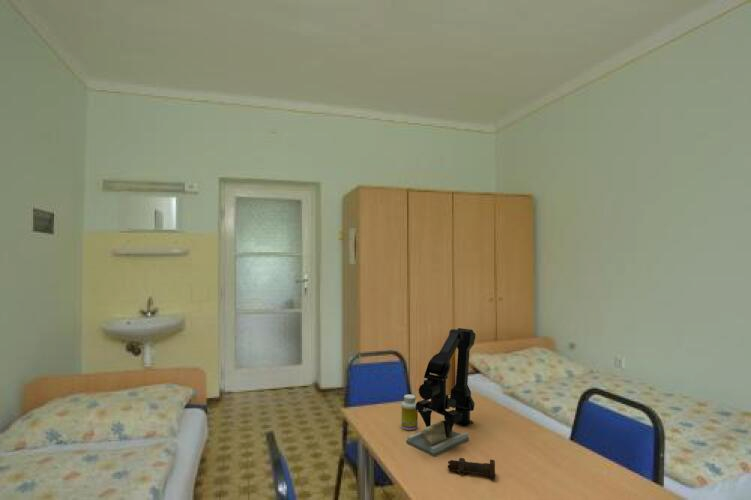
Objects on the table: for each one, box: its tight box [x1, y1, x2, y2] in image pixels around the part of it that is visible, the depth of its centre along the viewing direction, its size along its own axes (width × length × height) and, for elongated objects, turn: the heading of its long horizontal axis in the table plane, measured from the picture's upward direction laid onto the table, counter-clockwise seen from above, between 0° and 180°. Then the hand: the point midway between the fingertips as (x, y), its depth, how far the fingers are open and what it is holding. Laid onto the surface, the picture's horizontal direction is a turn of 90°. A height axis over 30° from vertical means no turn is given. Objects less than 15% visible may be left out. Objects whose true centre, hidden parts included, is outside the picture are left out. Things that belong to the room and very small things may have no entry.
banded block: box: [423, 419, 453, 446], centre depth 162 cm, size 4×12×5 cm, turn 131°
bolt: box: [447, 457, 496, 480], centre depth 140 cm, size 6×5×15 cm
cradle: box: [405, 429, 470, 457], centre depth 163 cm, size 20×14×2 cm
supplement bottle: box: [400, 394, 419, 431], centre depth 175 cm, size 7×7×13 cm
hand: (437, 433), depth 163 cm, fingers open, 9 cm apart
